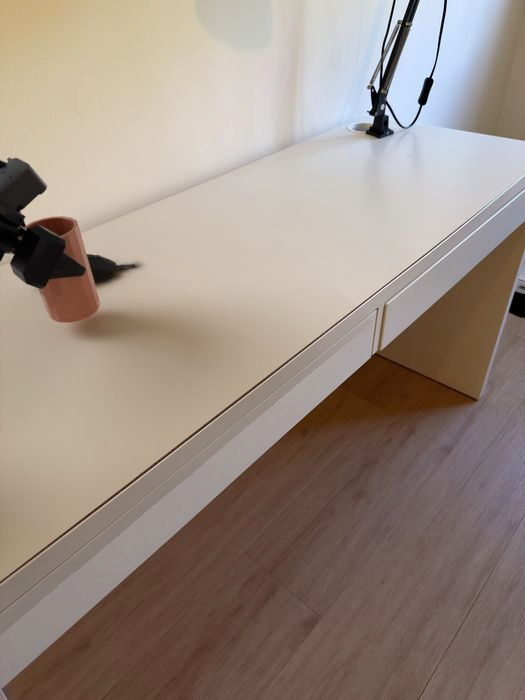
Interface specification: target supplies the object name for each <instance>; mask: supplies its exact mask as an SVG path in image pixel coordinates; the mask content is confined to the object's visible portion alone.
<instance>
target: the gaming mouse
mask: <svg viewBox="0 0 525 700" xmlns="http://www.w3.org/2000/svg"><path fill="white" fill-rule="evenodd" d="M86 254H87V258H88V261H89V265H90V268H91V272H92V275H93V279H94V282H95V283H97V282H101V281H105V280H106V279H109V278H111V277H113V276H114V274H115V273H116V271H117V270H118V269H121V270H123V269H125V268H132V267H136V264H135V263H132V264H117V263H116V262H115V261H113V260H112V259H109V258H107V257H104V256H102V255H100V254H92V253H86Z"/></svg>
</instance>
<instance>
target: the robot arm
mask: <svg viewBox="0 0 525 700" xmlns="http://www.w3.org/2000/svg"><path fill="white" fill-rule="evenodd" d="M6 161H7V162H6ZM6 161H4V160H1V159H0V262H2V261H3V258H4V256H5V254H6V255H7V254H9V255H13V256H12V258H11V260H10V262H9V265H10V268H11V270H12V271H11V272H12V273H13V275H15V276H16V277H17V278H18V279H20V280H21V281H22V282H23V283H24V284H26V285H29V286H31V287H33V288H36V289H38V290H39V289H43V288H44V287H46V285H47V283H48V281H49V280H51V279H57V278H66V277H76V276H83V275H84V273H85V271H86V268H85V267H84V266H82V265H81V264H80V263H78V262H77V261H75V260H74V259H73V258H71V257H70V256H68V255H67V254H66V253H64V252H63V251H64V250H65V248H66V240H65V239H63V238H62V237H60V236H59V235H57V234H56V233H54V232H52V231H50V230H48V229H46V228H44V227H42V226H40V225H36V226H33V227H30V228H27V230H26V229H25V228H23V227H24V226H26V225H27V224H26V221H25V219H26V217H27V216H26V215H25V214H23V213H22V211H23V210H24V209H25V208H26V207H27V206H29V205H30V204H31V203H32V202H33V201H34V200H35V199H36V198H38V196H40V195H43V194H44V193H45V192H46V190H47V189H48V184H47V183H46V182H45V181H44V180H43V178H42V177H41V176H40V175H39V174H38V173H37V171H35V169H34V168H33V167H32V166H31V165H30V163H28V162H26V161H24V160H23V159H20V158H18V157H14V158H11V157H8V158H7V159H6ZM20 236H21V237H22V238H21V237H20Z"/></svg>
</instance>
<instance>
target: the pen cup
mask: <svg viewBox="0 0 525 700" xmlns="http://www.w3.org/2000/svg"><path fill="white" fill-rule="evenodd" d="M25 225H26V226H24V227H23V228H25V229H26V230H27V228H30V227H33V226H36V225H40V226H42V227H44V228H46V229H48V230H50V231H52V232H54V233H56V234H57V235H59V236H60V237H62V238H63V239H65V240H66V248H65V250H64V251H63V252H64V253H66V254H67V255H68V256H70V257H71V258H73V259H74V260H75V261H77V262H78V263H80V264H81V265H82V266H84V267H85V268H86V271H85V273H84V275H83V276H76V277H66V278H57V279H51V280H49V281H48V283H47V285H46V287H44V288H43V289H39V288H38V291H39V293H40V294H39V295H40V296H41V299H42V302H43V304H44V307H45V310H46V313H47V315H48V317H49V318H50V319H51V320H52V321H55V322H57V323H63V324H67V323H75V322H80V321H83V320H86V319H88V318H90V317H92V316H93V315H94V314H95V313H97V311H98V310H99V309H100V306H101V301H100V297H99V293H98V289H97V287H96V282H94V279H93V275H92V272H91V268H90V265H89V261H88V258H87V254H88V253H87V251H86V247H85V244H84V240H83V237H82V233H81V229H80V226H79V223H78V221H77V219H75V218H73V217H69V216H61V215H60V216H49V217H44V218H40V219H37V220H34V221H31V222H29V223H28V224H25ZM20 237H21V236H20ZM21 238H22V237H21Z"/></svg>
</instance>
